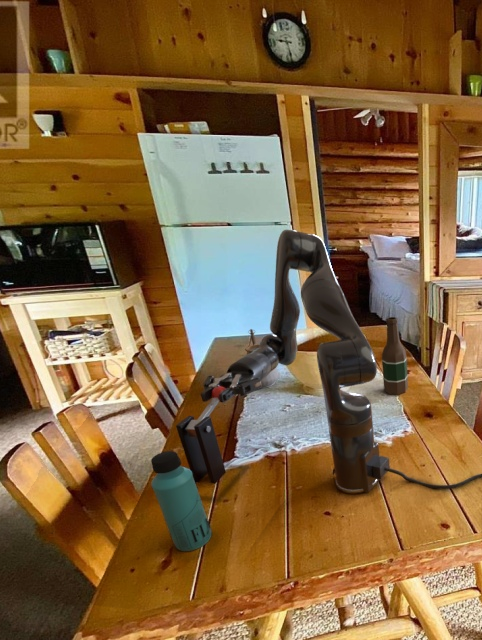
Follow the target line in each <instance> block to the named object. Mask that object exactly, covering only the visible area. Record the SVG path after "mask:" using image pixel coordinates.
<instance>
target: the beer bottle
mask: <svg viewBox="0 0 482 640" xmlns="http://www.w3.org/2000/svg"><path fill="white" fill-rule="evenodd" d="M385 323H386V344H385V346H384V347H383V350H382V353H381V364H382V378H383V389H384V392H385V393H387V394H389V395H391V396H394V395H395V396H399V395H402V394H405V393H407V390H408V388H409V381H408V379H409V378H408V377H409V376H408V359H407V358H408V357H407V351H406V349H405V346H403V345H402V343H401V340H400V332H399V324H398V323H399V318H398V317H395V316H389V317H387V318H386V320H385Z"/></svg>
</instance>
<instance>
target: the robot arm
mask: <svg viewBox="0 0 482 640" xmlns="http://www.w3.org/2000/svg"><path fill="white" fill-rule="evenodd" d="M275 258H276V260H275V273H274V274H275V275H274V298H273V306H272V307H273V309H272V312H271V316H270V317H271V318H270V323H269V330H270V332H271V334H270V333H269V334H266V335H264V336H263V337H262V338H261V340H260V343H259V344H258V345H259V346H258V348H257V349H256V350H255V351H253V352H252V353H250V354H248V353H247V354H246V355H244V356H242V357H241V358H240V359H237V360H236V361H235V362H233V363H231V365H229V367H228V369H227V371H226V373H225V374H222V375H220V376H219V377H214V375H210V374H209V375H207V376H206V378H205V380H204V382H203V384H202V385H203V386H202V387H203V391H202V392H200V397H201V400H202V402H203V403H204V402H205V403H207V402H210V401H211V400H212V399H213V398H212V396H211V393H212V390H213V389H214V388H216V387H219V386H221V387H224V388H226V389H225V390H224V391H222V392H221V393H220V394H219V399H220V402H219V403H224V404H225V403H226V402H227V401H230V399H232V398H233V397H238V395H240V396H241V397H244V396H247V395H249V394H251V393H253V392H256V391H258V390H260V389H263V388H262V386H261V381H262V380H263V379H264V378H265V377H266V376H267V375H268V374H269V373H270V372H271V371H273V370H274V369H275V368H276V369H277V367H278V366H279V364H280V365H282V366H290V365H293V363H294V362H295V361H296V359H297V357H296V352H297V353H298V340H297V328H298V323H299V319H300V314H301V310H300V309H301V308H300V303H299V301H298V298H297V296H296V294H295V292H294V290H293V287H292V285H291V282H290V270H295V271H301V272H307V273H310V274H309V275H308V276H307V278H306V279H305V280H304V282H303V284H302V285H301V289H300V298H301V302H302V305H303V307H304V310H305V313H306V315H307V317H308V318H309V320H310V321H311V322H312V323H313V324H315V326H316V327H318V328H320V330H321V329H322V330H323V331H325V332H327V333H328V334H330V335H332V336H334V337H336V339H338V340H331V341H326V342H322V343H320V344H319V345H318V347H317V350H316V362H317V368H318V371H319V377H320V382H321V386H322V392H323V398H324V405H325V412H326V413H325V414H326V419H327V427H328V433H329V441H330V447H331V448H330V449H331V455H332V461H333V468H332V475H333V476H335V485H336V487H337V489H338V490H339V491H341V492H342V493H346V494H353V495H354V494H355V495H356V494H361V493H365V494H369V493H370V492H371V491H372V490H373V488H374V487H376V485H377V484H378V483H379V481H381V480H382V479H383V478H384V477H385V476H386V474H387V473H388V472H389V473H392V474H395V475H398V476H400V477H402V479H404V480H405V481H408V482H410V483H414V484H417V485H420V486H424V487H427V488H430V489H435V490H436V489H437V490H450V489H456V488H460V487H462V486H465V485H467V484H469V483H471V482H472V481H474V480H477V479H480V478H482V473H479V474H475V475H473V476H471V477H469V478H466V479H465V480H463V481H461V482H460V481H459V482H458V483H453V484H444V485H443V484H442V485H441V484H440V485H439V484H430V483H426V482H422V481H420V480H417V479H414V478H412V477H409V476H407V475H406V474H405V472H402V471H401V470H400V471H399V470H397V469H394V468H391V467H390V458H389V457H387V456H383V455H380V446H379V443H378V442H375V433H374V422H373V411H372V404H371V401H370V399H369V398H368V397H366V396H365V395H363V394H361V393H360V394H359V393H354V392H349V391H345V390H342V388H348V387H353V386H358V385H364V384H367V383H371V382H372V381H373V380H374V379H375V378H376V376H377V372H378V366H377V360H376V356H375V353H374V350H373V348H372V346H371V345H370V342H369V341H368V338H367V337H366V335H365V334H364V332H363V331H362V329H361V328H360V325H359V324H358V323H357V321H356V319H355V317H354V315H353V312H352V311H351V308H350V306H349V303H348V301H347V298H346V296H345V294H344V292H343V290H342V287H341V286H340V283H339V282H338V280H337V277H336V275H335V272H334V271H333V268H332V265H331V262H330V258H329V255H328V251H327V249H326V246H325V243H324V241H323V240H322V238H321V237H319V236H317V235H315V234H311V233H307V232H303V231H298V230H293V229H283V230H282V231H281V233H280V234H279V236H278V240H277V245H276V256H275Z"/></svg>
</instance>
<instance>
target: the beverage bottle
mask: <svg viewBox="0 0 482 640" xmlns="http://www.w3.org/2000/svg"><path fill="white" fill-rule="evenodd" d="M181 465H182V460H181V459H180V456H179V455H178V453H177V452H176V451H174V450H165V451H162V452H159V453H158V454H157V453H156V454H155V455H154V456H153V457H152V458H151V466H152V471H153V472H154V473H156V475H155V476H154V477H153V478H152V480H151V483H150V484H151V485H150V487H151V488H152V489H153V492H154V495H155V497H156V500H157V502H158V505H159V508H160V510H161V513H162V516H163V520H164V522H165V525H166V528H167V530H168V533H169V536H170V539H171V540H172V543H173V545H174V547H175V548H176V549H177V550H179V551H181V552H192V551H195V550H197V549H200V548H201V547H203V546H205V545H206V544H208V542H209V541H210V540H211V538H212V533H213V532H212V526H211V525H210V524H211V523H210V520H209V519H210V518H209V516H208V514H207V512H206V509H205V506H204V504H203V502H202V497H201V494H200V490H199V487H198V486H197V485H196V484H197V483H196V482H195V481H194V478H193V474H192V471H191V470H190V468H189V467H185V466H181Z"/></svg>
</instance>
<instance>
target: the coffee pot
mask: <svg viewBox="0 0 482 640" xmlns="http://www.w3.org/2000/svg"><path fill="white" fill-rule="evenodd" d="M247 333H248V334H250V340H251V342H252V345H250V346H246V347H245V349H244V350H245V352H247V354H250V353H252V352H253V351H255V350H256V349H257V348H258V346H259V345H260V344H257V342H256V336H255V333H256V330H255V329H252V328H250V329H249V330H248V331H247ZM279 378H280V371H279V369H277V367H276V368H275V369H274V370H273V371H271V372H270V373H269V374H268V375H267V376H266V377H265V378H264V379H263V380H262V381H261V386H262V388H261V389H265V388H269V387H272V386H274V385H275V384H276V382H277V381H279Z"/></svg>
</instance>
